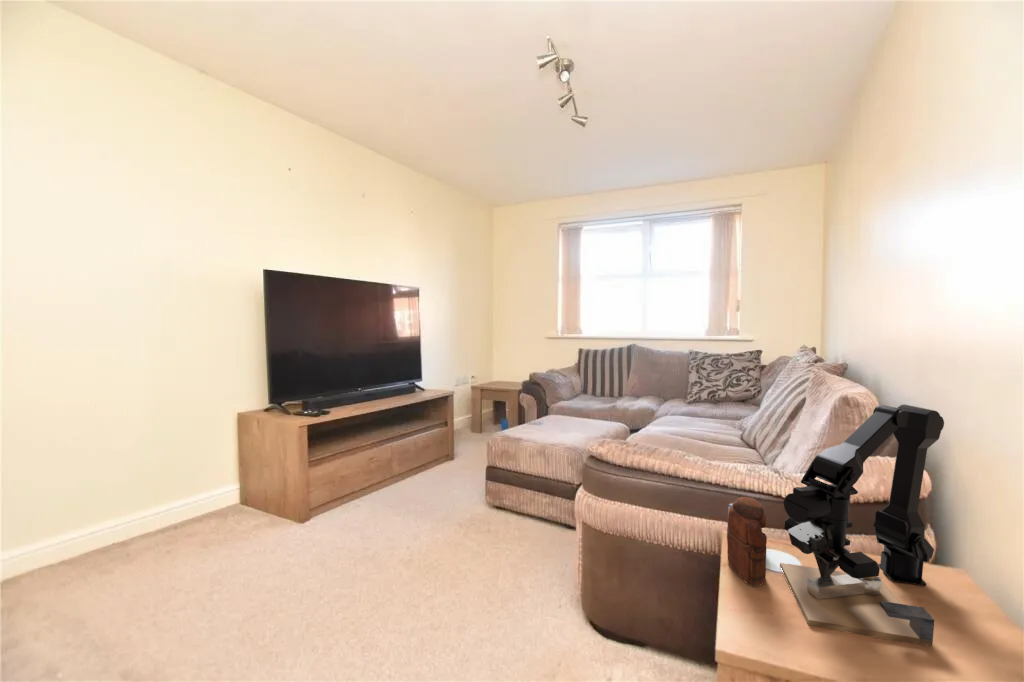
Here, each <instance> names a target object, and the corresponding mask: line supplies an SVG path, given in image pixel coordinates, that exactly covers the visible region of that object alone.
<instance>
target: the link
mask: <svg viewBox="0 0 1024 682" xmlns="http://www.w3.org/2000/svg"><path fill="white" fill-rule="evenodd" d="M878 577H879V576H875V577H874V579H866V578H859V579H856V578H853V577H851V576H849V575H848V574H846V575H837V576H828V577H819V578H809V579H807V591H808V592H810V593H811V594H812V595H813V596H815V597H816V598H817V599H824V598H832V597H841V596H850V595H858V594H867V595H872V596H877V595H879V594H880V587H881V580H880V579H879V578H878Z"/></svg>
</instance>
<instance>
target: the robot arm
mask: <svg viewBox="0 0 1024 682" xmlns="http://www.w3.org/2000/svg"><path fill="white" fill-rule="evenodd" d="M944 426H945V420H944V418H943V416H941V414H940V413H939V412H938V411H937V410H934V409H929V408H924V407H920V406H914V405H908V404H900V405H899V406H898V407H893V406H888V405H884V404H882V405H877V406H876V407H874V409H873V412H872V414H871V415H870V416H869V417H868V418H867V419H865V421H864V422H863V423H861V425H859V427H857V428H856V430H854V431H853V432H852V433H851V435H849V436H848V437H847V438H846V439H845V440H844V441H843V442H841V443H840V444H837V445H834V446H830V447H827V448H826V449H824V450H822V451H821V452H819V453H818V454H817V455H816V456H815V457H814V459H812V462H811V463H810V465H809V466H808V468H807V469H806V472H805V473H804V475H803V477H802V478H801V480H800V483H801V484H803V485H805V486H796V487H793V489H792V492H790V493H788V494H787V495H786V496H785V498H784V499H783V507H784V510H785V512H786V514H787V515H788V517H787V518H786V519H785V521H784V527H783V529H785V530H786V532H788V536H789V540H790V544H791V545H792V546H793V547H795V548H797V549H798V550H799V551H801V553H802V554H805V555H810V554H812V553H813V555H814V558H815V560H816V564H817V568H819V572H820V575H821V577H828V576H830V575H831V574H832V573H833V572H834V571H837V568H839V569H840V570H841V572H845V573H847V574H848V575H849V576H851V577H853V578H856V579H859V578H867V577H875V576H877V577H880V570H882V571H883V572H884V574H886V576H887V577H888V578H889V579H890V580H891V581H892V582H897V583H903V584H911V585H917V586H918V585H919V586H923V587H924V586H925V587H926V586H927V583H926V581H925V580H924V579H923V573H924V562H926V563H929V562H930V560H931V559H932V557H933V556H934V553H935V548H934V547H933V546H932V545H931V544H930V542H929V541H928V540H927V539H926V537H925V533H926V532H925V529H926V526H925V524H924V522H923V520H922V518H921V516H920V513H918V509H919V504H920V498H921V497H920V496H921V490H922V484H923V478H924V471H925V465H926V460H927V453H928V450H929V448H931V446H933V445H934V444H935V443H936V442H938V440H939V439H940V436H941V433H942V430H943V429H944ZM892 435H893V436H894V438H895V440H896V442H897V450H896V454H895V455H896V456H895V463H894V470H893V475H892V482H891V489H890V495H889V500H888V505H887V506H886V507H884V508H883V509H882V510H880V509H879V510H877V511H876V512H875V520H874V523H873V526H872V527H873V530H874V534H875V537H876V541H877V543H878V544H881V545H883V551H881V553H880V563H878V562H877V561H876V560H875V559H873V558H871V557H870V556H868V555H867V554H865V553H863V552H862V551H856V552H855V551H854V552H851V549H849V548H848V547H846V546H851V540H850V539H848V538H847V529H848V528H852V527H853V522H852V521H850V520H849V512H850V502H851V496H852V495H854V496H855V495H857V494H859V491H858V489H856V488H855V487H854V485H856V483H857V482H858V481H859V480H860V477H862V475H863V474H864V463H865V462H866V460H867V459H869V457H870V456H872V454H873V453H874V452H875V451H877V449H878V448H879V447H881V445H883V444H884V443H885V442H886V441H887V440H888V439H889V438H890V437H891V436H892ZM816 478H817V479H816ZM819 479H820V480H819ZM821 480H822V481H821ZM823 481H824V482H823ZM826 482H827V483H826ZM828 483H830V484H828Z"/></svg>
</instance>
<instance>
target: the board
mask: <svg viewBox="0 0 1024 682" xmlns="http://www.w3.org/2000/svg"><path fill="white" fill-rule="evenodd" d="M780 566H781V568H782V570H783V572H784V575H785V577H786V579H787V581H788V583H789V585H790V587H791V589H790V590H792V591H791V593H792V592H793V593H792V595H793V594H794V595H793V597H794V599H795V601H796V604H797V605H798V608H799V609H800V612H801V614H802V616H803V617H804V619H805V622H806V624H807V626H810V627H816V628H821V629H826V630H833V631H839V632H844V633H848V634H849V633H850V634H856V635H862V636H866V637H872V638H878V639H886V640H891V641H896V642H904V643H909V644H914V645H918V646H919V645H921V646H924V647H925V645H926V647H931V648H932V647H933V644H934V643H933V642H934V640H933V641H931V640H927V641H926V640H924V639H920V638H919V637H918V636H917V635H916V633H915V632H914V631H913V630H912V628H911V627H910V626H909V622H910V620H906V619H900V618H894V617H889V616H888V615H887V614H886V612H885V611H884V610H883V608H882V607H881V606H880V601H885V602H891V603H898V604H903V602H901V601H900V599H899V598H898V597H897V596H896V595H895V594H894V593H895V592H893V591H892V590H891V589H890V587H889V586H888V585H887V584H886V583H885V581H884V580H883V579H882V577H880V576H877V577H878V578H879V579H880V580H881V587H880V594H879V595H877V596H872V595H867V594H858V595H850V596H841V597H832V598H824V599H817V598H816V597H815V596H813V595H812V594H811V593H810V592H808V591H807V579H809V578H819V577H821V575H820V572H819V568H818V567H811V566H805V565H798V564H790V563H784V562H780V563H779V567H780ZM846 574H847V573H845V572H844V571H842V570H841V571H839V570H835V571H834V572H833V573H832V574H831V575H830V576H837V575H846ZM784 575H783V576H784ZM785 577H784V578H785ZM786 579H785V580H786ZM866 579H874V577H867V578H866ZM787 581H786V582H787ZM788 583H787V584H788ZM789 585H788V586H789ZM790 587H789V588H790ZM925 641H926V642H925ZM929 641H931V642H929ZM923 642H924V643H925V644H924V643H923ZM928 642H929V644H928ZM922 643H923V644H922ZM932 643H933V644H932Z"/></svg>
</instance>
